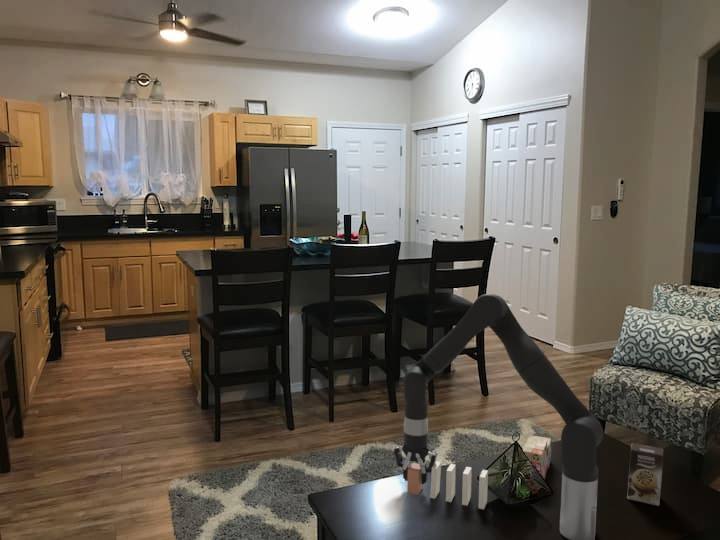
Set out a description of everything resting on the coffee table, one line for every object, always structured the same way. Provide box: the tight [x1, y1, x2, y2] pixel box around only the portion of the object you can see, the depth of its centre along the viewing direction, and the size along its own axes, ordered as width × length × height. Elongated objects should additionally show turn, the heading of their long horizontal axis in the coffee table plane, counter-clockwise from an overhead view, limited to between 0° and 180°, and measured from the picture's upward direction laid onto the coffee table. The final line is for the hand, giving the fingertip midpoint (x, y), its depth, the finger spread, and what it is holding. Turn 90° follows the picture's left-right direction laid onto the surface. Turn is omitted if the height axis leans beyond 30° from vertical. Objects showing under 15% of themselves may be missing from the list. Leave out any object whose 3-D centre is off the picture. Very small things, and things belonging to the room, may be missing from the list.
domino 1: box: [406, 462, 424, 496], centre depth 184 cm, size 4×5×8 cm
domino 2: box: [429, 460, 442, 500], centre depth 181 cm, size 2×5×10 cm, turn 157°
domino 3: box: [445, 463, 457, 503], centre depth 179 cm, size 2×5×10 cm, turn 157°
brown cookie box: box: [626, 442, 665, 507], centre depth 180 cm, size 9×6×16 cm
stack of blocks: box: [522, 435, 552, 479], centre depth 195 cm, size 21×6×12 cm, turn 153°
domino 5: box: [478, 469, 489, 510], centre depth 176 cm, size 2×5×10 cm, turn 157°
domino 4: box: [461, 466, 472, 507], centre depth 178 cm, size 2×5×10 cm, turn 157°
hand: (415, 481), depth 184 cm, fingers open, 5 cm apart
